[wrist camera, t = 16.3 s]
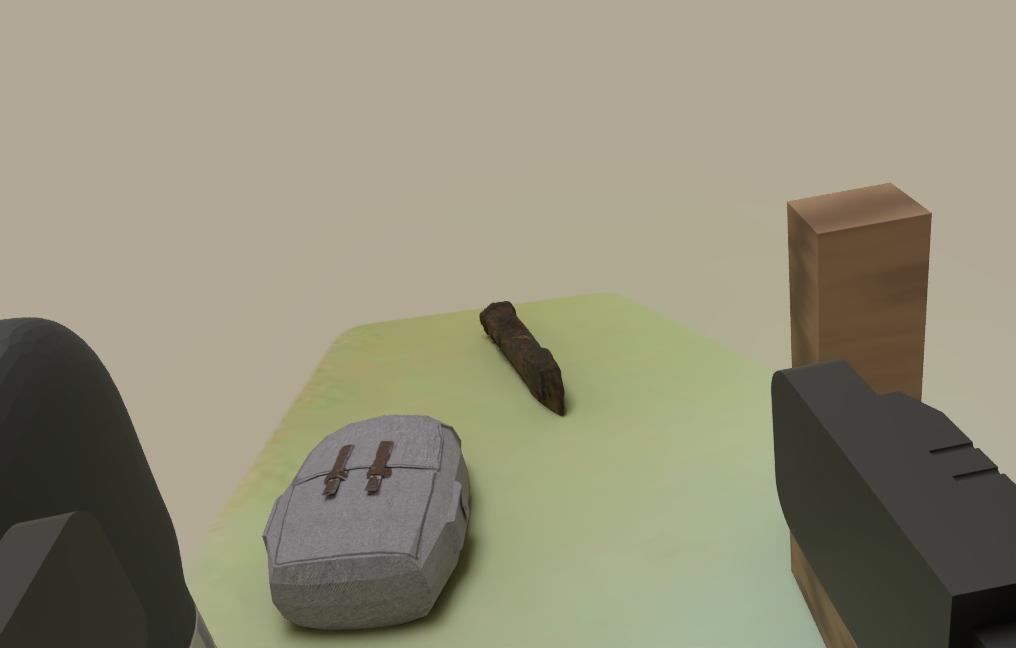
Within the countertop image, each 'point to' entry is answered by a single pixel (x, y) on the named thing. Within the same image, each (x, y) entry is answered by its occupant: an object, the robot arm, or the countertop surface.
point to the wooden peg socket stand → (857, 312)
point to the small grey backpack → (370, 525)
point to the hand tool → (525, 354)
